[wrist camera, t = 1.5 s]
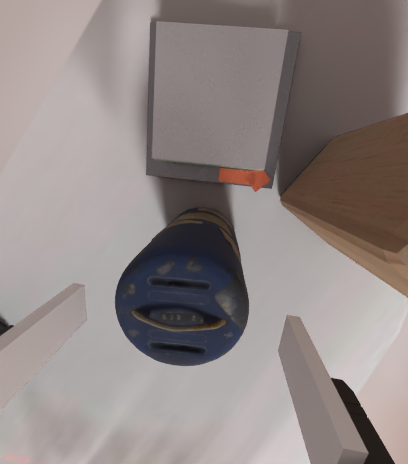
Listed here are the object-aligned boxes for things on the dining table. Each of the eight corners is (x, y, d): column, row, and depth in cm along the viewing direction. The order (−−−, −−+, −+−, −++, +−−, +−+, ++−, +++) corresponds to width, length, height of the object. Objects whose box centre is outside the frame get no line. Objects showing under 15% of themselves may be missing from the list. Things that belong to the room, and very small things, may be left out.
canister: (179, 196, 29) (113, 230, 12) (246, 218, 29) (280, 286, 12) (162, 258, 31) (86, 362, 14) (223, 278, 31) (222, 407, 14)
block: (334, 133, 25) (689, 5, 6) (393, 187, 26) (862, 225, 7) (275, 199, 28) (388, 258, 9) (330, 246, 29) (544, 392, 10)
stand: (148, 179, 29) (133, 180, 24) (153, 28, 24) (135, -8, 19) (269, 192, 28) (278, 196, 23) (297, 38, 23) (317, 2, 18)
